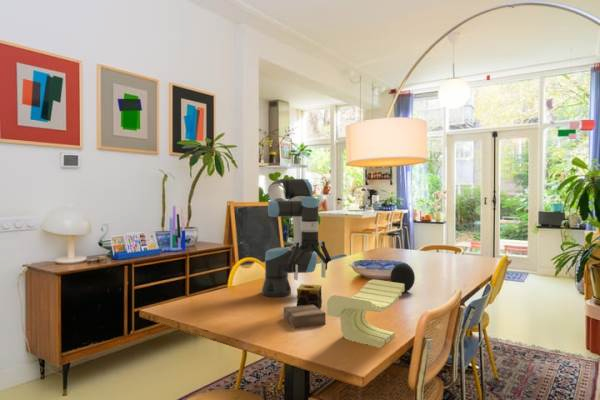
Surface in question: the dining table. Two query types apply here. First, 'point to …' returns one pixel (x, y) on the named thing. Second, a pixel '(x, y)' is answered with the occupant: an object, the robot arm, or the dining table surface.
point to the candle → (309, 295)
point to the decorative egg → (403, 276)
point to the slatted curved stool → (353, 311)
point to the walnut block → (304, 316)
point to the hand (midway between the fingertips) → (309, 278)
